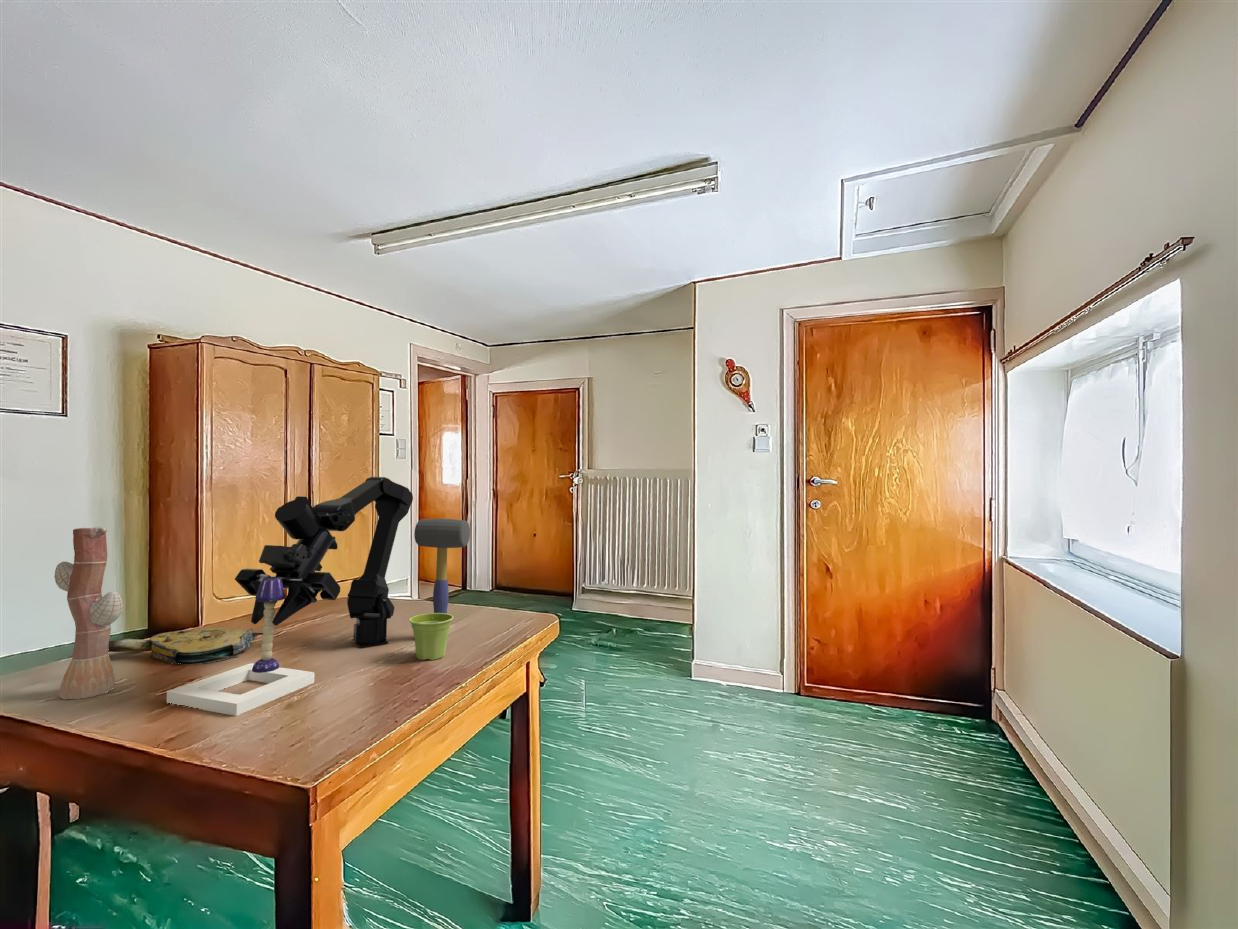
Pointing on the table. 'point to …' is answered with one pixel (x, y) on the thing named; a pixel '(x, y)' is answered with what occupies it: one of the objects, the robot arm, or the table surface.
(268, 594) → the toy lamp
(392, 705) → the table surface
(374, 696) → the table surface
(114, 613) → the vase
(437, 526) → the rubber mallet
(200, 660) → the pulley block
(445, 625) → the plant pot
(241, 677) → the cutout frame
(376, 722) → the table surface
